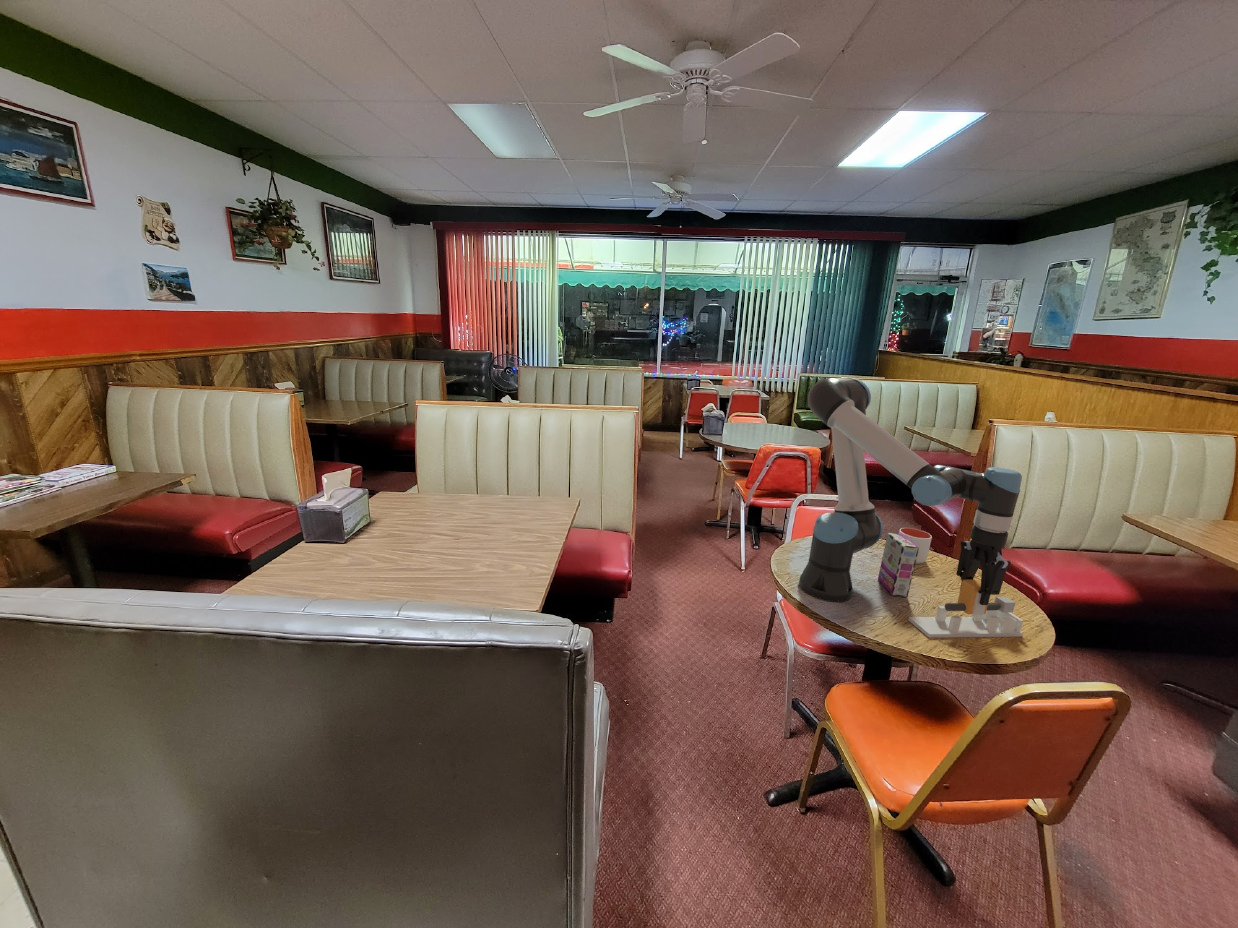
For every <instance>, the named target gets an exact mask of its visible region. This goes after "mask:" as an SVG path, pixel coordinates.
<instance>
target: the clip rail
mask: <svg viewBox="0 0 1238 928" xmlns="http://www.w3.org/2000/svg"><path fill="white" fill-rule="evenodd" d="M948 612H949V611H947V610H946V609H945V605H938V606H937V611H936V614H935V616H912V617H911V616H909V617H908V622H910V623H911V624H912V625H913V626H914V627H916V628H917V629H918V630H919V631H920V632H922V634H924V635H925V636H926V637H927V638H932V639H933V638H1000V637H1001V638H1003V637H1005V638H1006V637H1007V638H1009V637H1011V638H1012V637H1023V635H1024V632H1022V628H1023V624H1024V620H1023V619H1022V618H1020V617H1018V616H1017V615H1016V614H1014V613H1002V612H1001V611H999V610H986V614H983V615H973V614H971V615H972V616H960V615H951V616H947V614H948Z"/></svg>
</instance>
